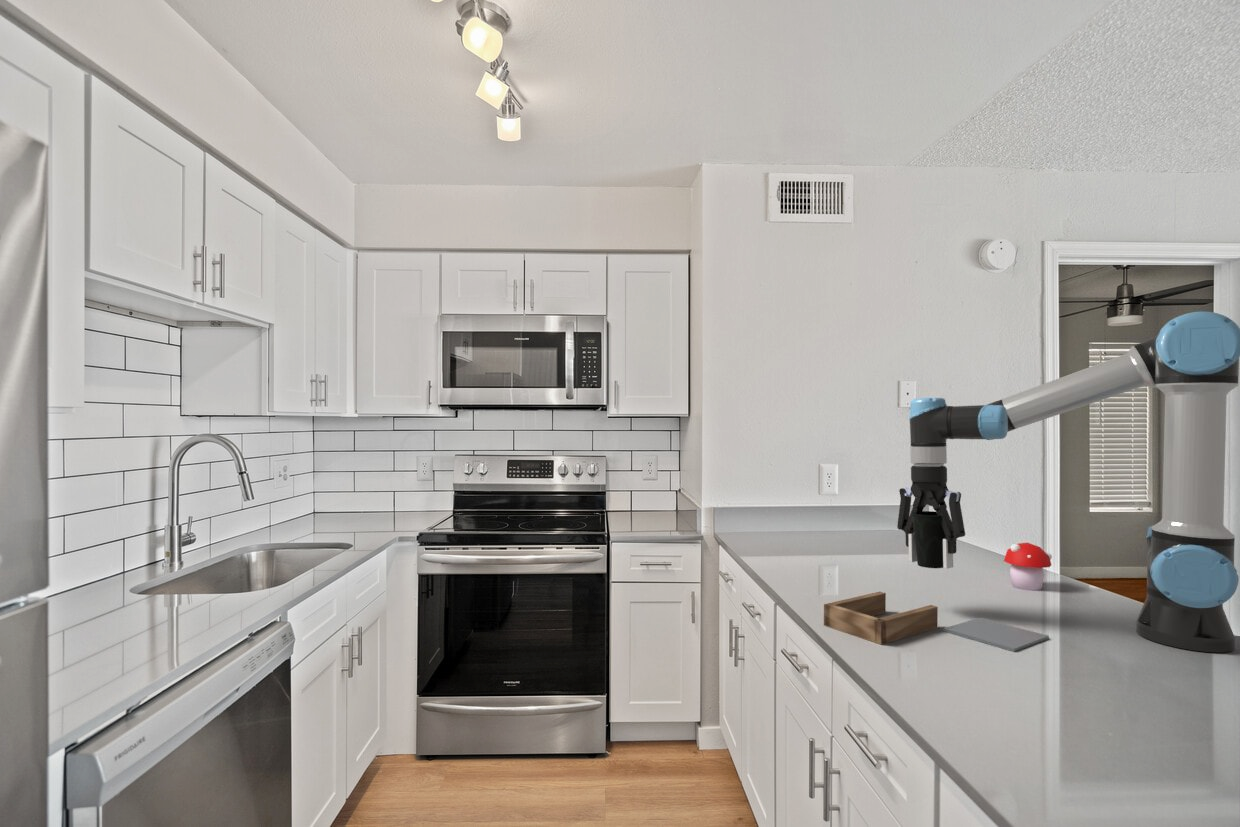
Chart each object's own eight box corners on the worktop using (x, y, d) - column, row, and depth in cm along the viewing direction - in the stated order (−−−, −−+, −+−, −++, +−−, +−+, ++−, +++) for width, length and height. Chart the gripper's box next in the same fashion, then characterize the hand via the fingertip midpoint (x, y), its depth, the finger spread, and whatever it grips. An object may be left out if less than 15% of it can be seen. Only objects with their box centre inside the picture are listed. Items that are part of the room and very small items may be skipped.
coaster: (1048, 638, 131) (1048, 635, 131) (1014, 651, 124) (1014, 648, 124) (979, 620, 143) (979, 617, 143) (943, 631, 135) (943, 628, 135)
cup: (954, 569, 143) (953, 515, 143) (917, 568, 145) (916, 515, 145) (943, 562, 151) (942, 511, 151) (909, 561, 152) (908, 510, 152)
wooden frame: (937, 627, 138) (937, 606, 138) (881, 644, 127) (881, 621, 127) (879, 610, 149) (879, 591, 149) (823, 625, 139) (823, 604, 139)
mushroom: (1037, 582, 176) (1037, 539, 176) (1061, 593, 165) (1061, 547, 166) (996, 581, 177) (996, 538, 177) (1017, 592, 166) (1017, 546, 167)
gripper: (982, 466, 142) (984, 570, 141) (898, 462, 159) (900, 555, 158) (963, 467, 137) (966, 575, 137) (879, 463, 155) (881, 559, 154)
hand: (930, 564), depth 148 cm, fingers closed on cup, 8 cm apart
